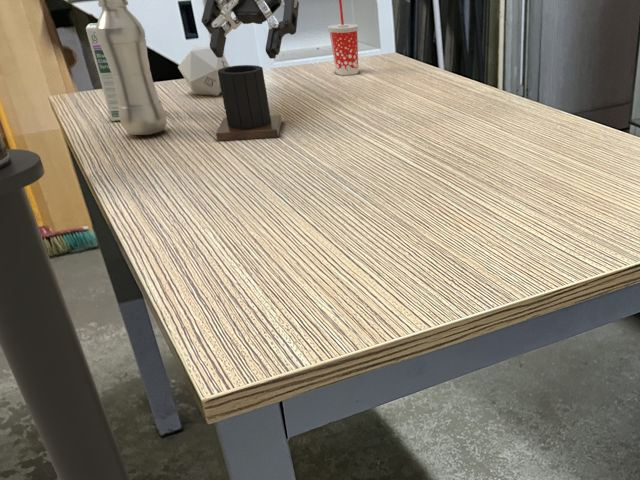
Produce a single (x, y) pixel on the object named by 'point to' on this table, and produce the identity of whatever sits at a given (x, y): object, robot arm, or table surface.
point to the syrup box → (103, 73)
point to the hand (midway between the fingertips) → (243, 55)
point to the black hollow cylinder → (244, 96)
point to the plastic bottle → (129, 68)
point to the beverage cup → (344, 46)
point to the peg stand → (249, 130)
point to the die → (203, 71)
